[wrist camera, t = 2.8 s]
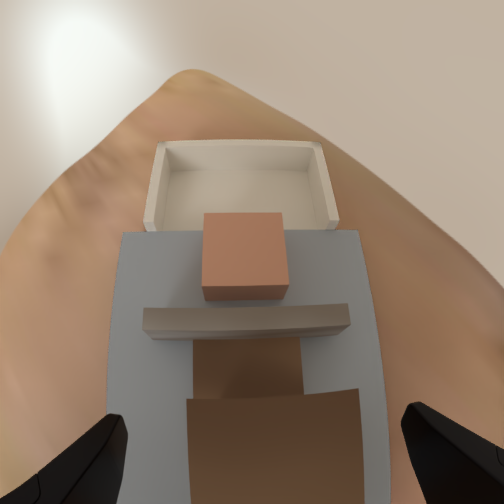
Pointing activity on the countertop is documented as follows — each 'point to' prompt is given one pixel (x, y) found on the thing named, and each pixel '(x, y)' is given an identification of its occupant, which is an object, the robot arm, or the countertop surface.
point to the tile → (244, 257)
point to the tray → (239, 183)
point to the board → (181, 352)
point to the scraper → (264, 407)
